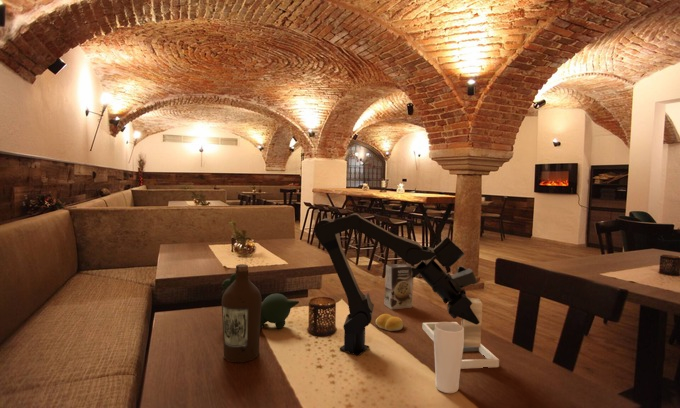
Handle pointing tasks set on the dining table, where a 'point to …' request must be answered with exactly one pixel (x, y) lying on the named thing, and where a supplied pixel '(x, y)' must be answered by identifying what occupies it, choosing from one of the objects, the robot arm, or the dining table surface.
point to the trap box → (470, 363)
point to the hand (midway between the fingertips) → (476, 320)
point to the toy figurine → (270, 306)
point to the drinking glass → (448, 355)
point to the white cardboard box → (398, 286)
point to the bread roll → (389, 322)
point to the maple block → (473, 325)
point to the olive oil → (241, 318)
